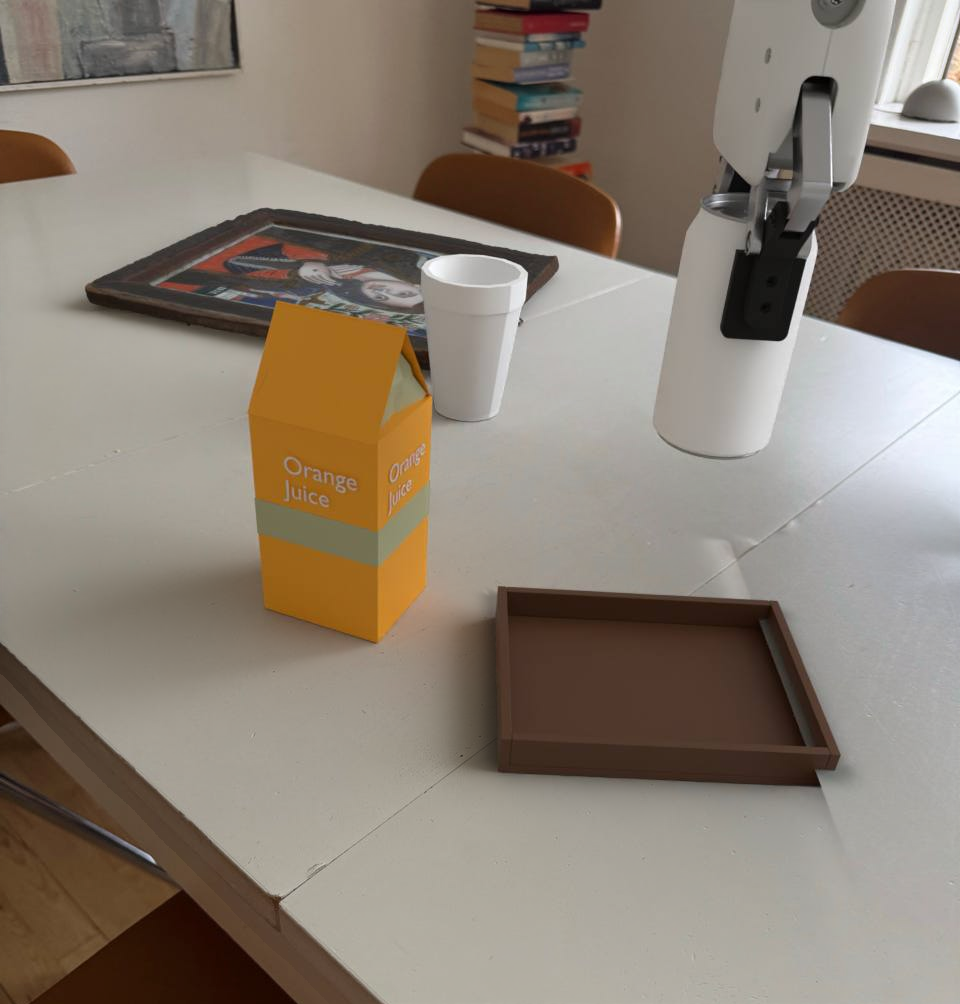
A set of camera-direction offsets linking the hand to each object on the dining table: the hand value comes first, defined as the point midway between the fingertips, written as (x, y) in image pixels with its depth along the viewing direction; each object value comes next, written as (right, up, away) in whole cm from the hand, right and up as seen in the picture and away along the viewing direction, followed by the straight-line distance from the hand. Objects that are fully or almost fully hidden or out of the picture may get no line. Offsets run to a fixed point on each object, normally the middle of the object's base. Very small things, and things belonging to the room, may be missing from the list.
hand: (737, 309), depth 51 cm
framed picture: (-29, +25, +70) cm, 80 cm away
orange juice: (-23, -14, +19) cm, 33 cm away
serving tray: (-3, -20, +12) cm, 24 cm away
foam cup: (-14, +5, +46) cm, 48 cm away
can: (0, -6, +4) cm, 7 cm away
